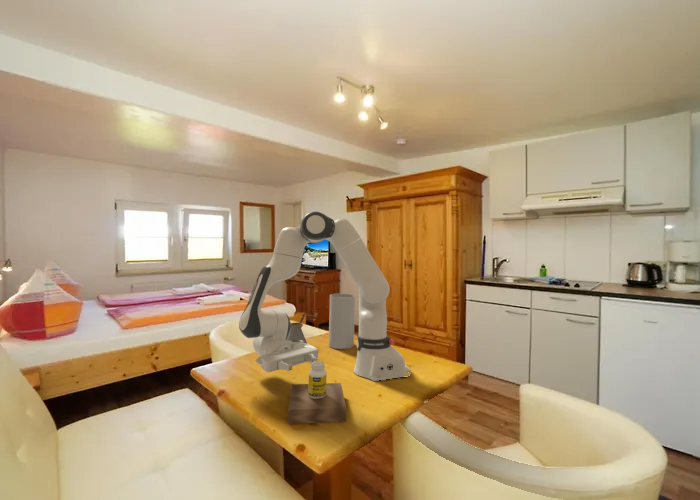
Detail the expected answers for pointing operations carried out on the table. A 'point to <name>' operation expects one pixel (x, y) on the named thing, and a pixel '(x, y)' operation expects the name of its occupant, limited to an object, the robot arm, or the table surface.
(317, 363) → the supplement bottle
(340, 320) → the cylinder vase
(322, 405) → the walnut plinth
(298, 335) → the coffee pot
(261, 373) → the table surface
